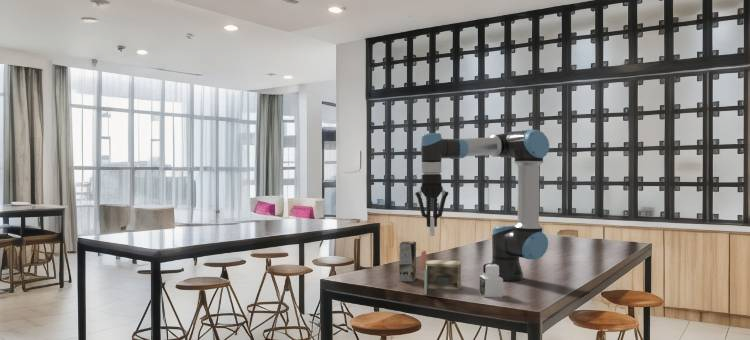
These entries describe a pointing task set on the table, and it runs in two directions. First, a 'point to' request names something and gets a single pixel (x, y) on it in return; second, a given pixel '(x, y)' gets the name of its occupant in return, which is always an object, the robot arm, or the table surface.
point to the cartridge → (443, 280)
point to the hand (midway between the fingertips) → (431, 235)
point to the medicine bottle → (491, 281)
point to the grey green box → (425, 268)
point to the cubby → (444, 274)
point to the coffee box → (407, 261)
